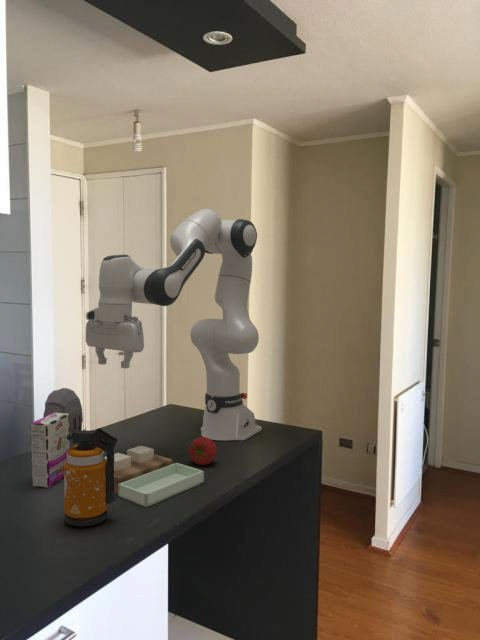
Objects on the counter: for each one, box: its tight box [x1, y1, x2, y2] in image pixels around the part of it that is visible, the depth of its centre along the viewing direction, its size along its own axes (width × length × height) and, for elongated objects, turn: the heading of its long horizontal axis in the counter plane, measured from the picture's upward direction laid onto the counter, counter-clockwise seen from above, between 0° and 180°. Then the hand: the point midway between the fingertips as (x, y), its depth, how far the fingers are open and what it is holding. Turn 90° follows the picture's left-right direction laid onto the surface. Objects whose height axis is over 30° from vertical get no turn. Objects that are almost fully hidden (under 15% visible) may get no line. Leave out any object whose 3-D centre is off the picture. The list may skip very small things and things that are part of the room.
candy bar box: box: [29, 413, 70, 489], centre depth 141 cm, size 11×5×16 cm, turn 168°
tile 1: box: [105, 452, 131, 471], centre depth 141 cm, size 5×5×2 cm
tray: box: [117, 462, 205, 508], centre depth 137 cm, size 20×10×3 cm, turn 142°
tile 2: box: [126, 445, 155, 463], centre depth 147 cm, size 5×5×2 cm
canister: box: [63, 427, 118, 527], centre depth 118 cm, size 9×11×20 cm
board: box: [114, 453, 173, 495], centre depth 143 cm, size 18×12×4 cm, turn 142°
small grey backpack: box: [42, 387, 84, 448], centre depth 160 cm, size 15×8×20 cm, turn 170°
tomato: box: [188, 436, 218, 466], centre depth 155 cm, size 8×8×8 cm
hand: (113, 366), depth 147 cm, fingers open, 8 cm apart
